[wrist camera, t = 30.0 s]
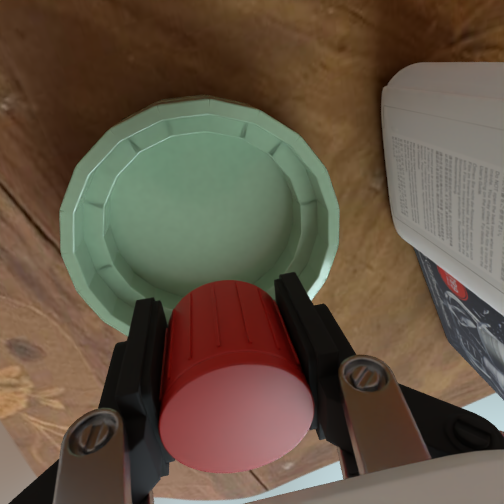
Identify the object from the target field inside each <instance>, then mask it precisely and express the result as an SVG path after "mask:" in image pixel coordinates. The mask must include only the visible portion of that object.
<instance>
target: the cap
mask: <svg viewBox="0 0 504 504" xmlns="http://www.w3.org/2000/svg"><path fill="white" fill-rule="evenodd" d="M159 401H160V402H161V404H160V414H159V424H158V428H159V435H160V439H161V442H162V444H163V446H164V448H165V449H166V450H167V452H168V453H169V454H170V455H171V456H172V457H173V458H174V459H176V460H177V461H179V462H180V463H182V464H184V465H186V466H188V467H190V468H193V469H196V470H200V471H204V472H211V473H235V472H242V471H247V470H251V469H255V468H258V467H261V466H264V465H266V464H269V463H271V462H273V461H275V460H277V459H279V458H280V457H282V456H284V455H285V454H286V453H288V452H289V451H291V450H292V449H293V448H294V447H295V446H296V445H297V444H298V443H299V442H300V441H301V440H302V439H303V437H304V436H305V435H306V433H307V431H308V430H309V428H310V426H311V423H312V421H313V416H314V405H315V404H314V398H313V395H312V392H311V390H310V387H309V385H308V382H307V380H306V377H305V375H304V372H303V370H302V367H301V364H300V361H299V358H298V356H297V353H296V351H295V348H294V346H293V343H292V341H291V338H290V336H289V333H288V331H287V328H286V326H285V323H284V321H283V318H282V315H281V313H280V310H279V308H278V305H277V303H276V301H275V300H273V299H272V297H271V296H270V295H269V294H268V293H266V292H265V291H264V290H262V289H261V288H259V287H257V286H255V285H253V284H250V283H247V282H243V281H237V280H221V281H215V282H211V283H207V284H205V285H202V286H200V287H198V288H196V289H194V290H193V291H191V292H190V293H188V294H187V295H186V296H185V297H184V298H182V299H181V301H180V302H179V303H178V304H177V305H176V307H175V308H174V309H173V311H172V314H171V316H170V319H169V323H168V328H166V333H165V343H164V354H163V364H162V375H161V386H160V396H159Z"/></svg>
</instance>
